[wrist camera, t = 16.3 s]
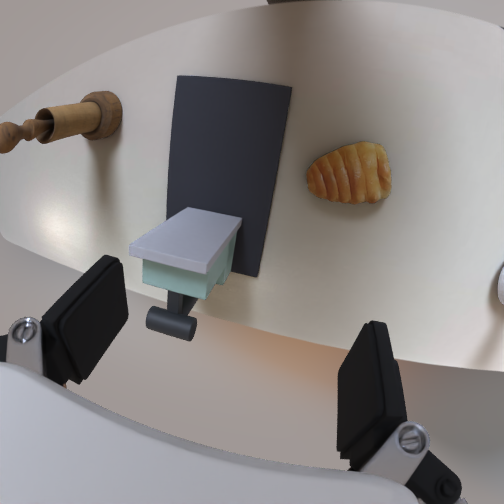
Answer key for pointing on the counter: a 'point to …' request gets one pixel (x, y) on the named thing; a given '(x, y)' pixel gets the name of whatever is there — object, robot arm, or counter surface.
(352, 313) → the counter surface
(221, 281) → the iron
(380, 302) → the counter surface
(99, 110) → the mortar and pestle
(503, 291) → the flower in vase
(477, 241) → the counter surface
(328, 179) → the pastry
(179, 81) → the iron mat
